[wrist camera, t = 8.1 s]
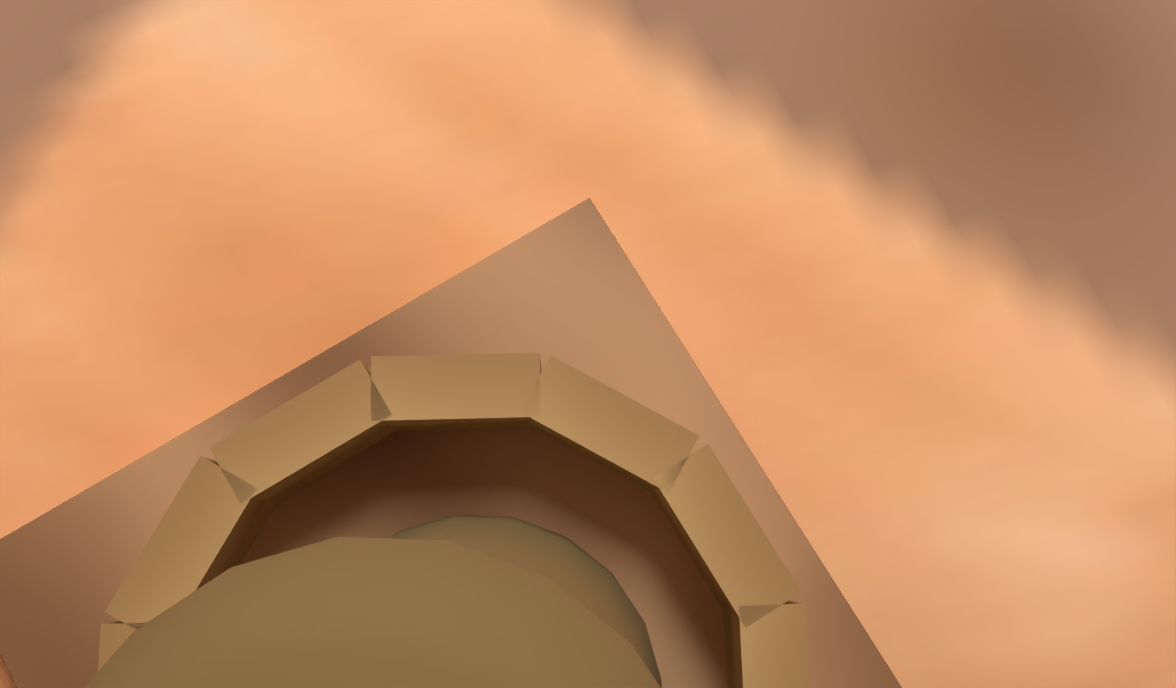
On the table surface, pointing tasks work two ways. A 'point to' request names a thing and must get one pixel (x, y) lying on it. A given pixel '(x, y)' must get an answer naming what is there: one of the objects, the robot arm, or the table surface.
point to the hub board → (465, 478)
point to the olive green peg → (401, 617)
